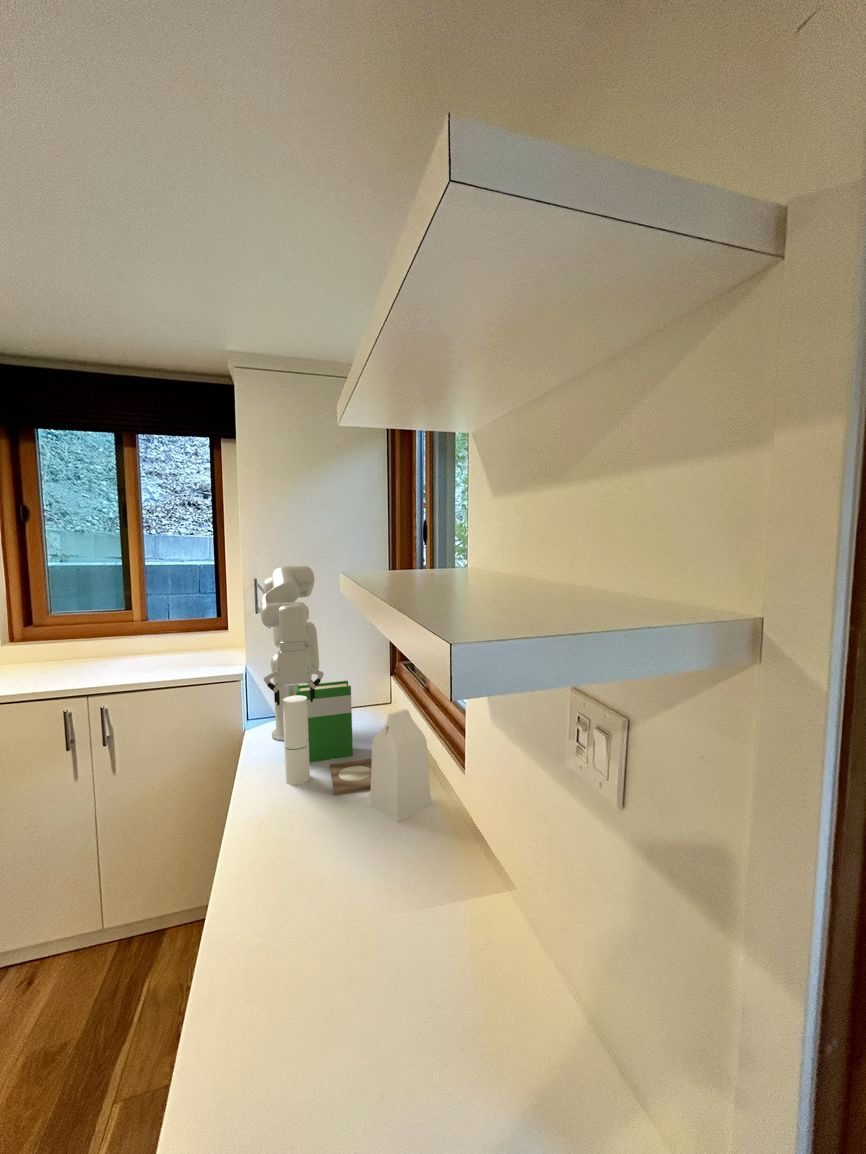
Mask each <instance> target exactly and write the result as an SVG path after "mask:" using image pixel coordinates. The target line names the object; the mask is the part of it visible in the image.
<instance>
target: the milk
mask: <svg viewBox="0 0 866 1154" xmlns="http://www.w3.org/2000/svg"><path fill="white" fill-rule="evenodd" d="M416 723H417V722H415V721H414V719H413V717H412V715H411V714H410V711H409V709H407V708H404V709H400V710H397V711H394V712H391V713H388V715H387V719H386V723H385V725H384V727H383V728H382V729H381V730H380V731H379V732H377V733H376V734H375V736H374V737H373V739H372V742H371V743H372V745H371V759H372V765H371V790H370V795H369V796H370V800H369V805H370V807H371V808H373V809H375V810H376V811H378V812H380V814H382V815H385V817H387V818H390V820H393V821H394V822H396V823H399V822H401V821H402V820H405V819H407V818H408V817H410V816H412V815H414V814H416V813H418V812H420V811H422V810H423V809H425V808H428V807H429V806H431V805H432V802H431V801H432V800H431V786H430V771H429V770H430V769H429V757H428V756H429V754H428V742H427V738H426V735H425V734H424V733H423V731H422V730H421V729H420V727H419V726H418V725H417V724H416Z"/></svg>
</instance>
